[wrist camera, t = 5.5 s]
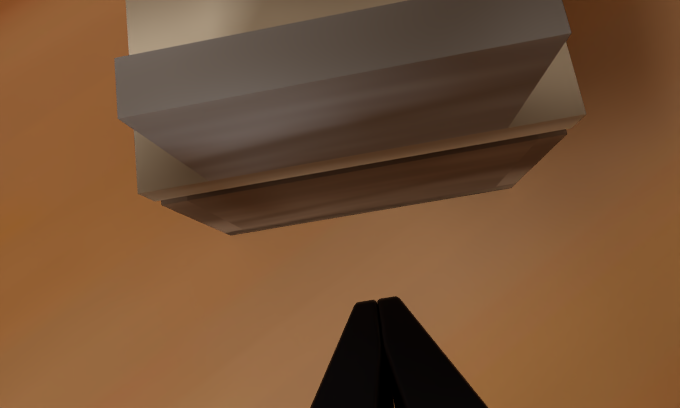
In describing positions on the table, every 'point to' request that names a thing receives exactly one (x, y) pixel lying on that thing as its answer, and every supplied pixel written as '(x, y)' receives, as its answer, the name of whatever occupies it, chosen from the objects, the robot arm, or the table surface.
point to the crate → (368, 186)
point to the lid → (333, 84)
